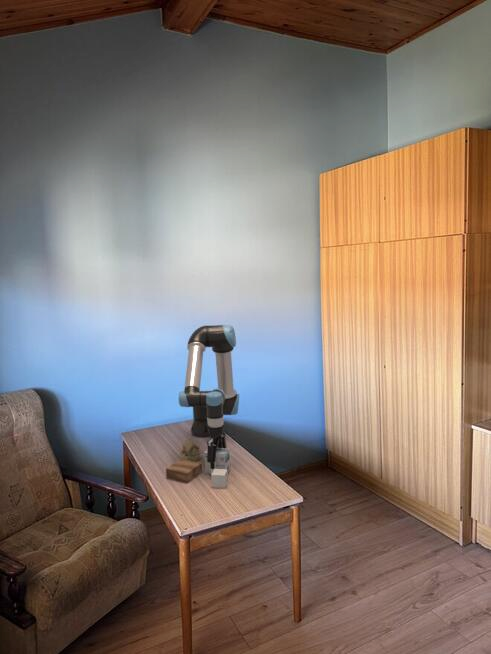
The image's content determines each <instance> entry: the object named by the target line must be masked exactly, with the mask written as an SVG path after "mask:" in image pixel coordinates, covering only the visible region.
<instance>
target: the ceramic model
mask: <svg viewBox="0 0 491 654" xmlns="http://www.w3.org/2000/svg"><path fill="white" fill-rule="evenodd" d="M181 447H182V450H181V451H180V458H181V459H185V460H190V461H195V462H198V461H199V460H201V459H202V454H201V452H202V450H201V449H200V447H201V446H200V445H199V444H198V443H196V442H195V441H194V440H193V437H191V436H190V437H186V439H185V440H184V441H183V443H182V444H181Z"/></svg>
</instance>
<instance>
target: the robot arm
mask: <svg viewBox="0 0 491 654" xmlns="http://www.w3.org/2000/svg"><path fill="white" fill-rule="evenodd" d="M236 346H237V340H236V333H235V327H233V326H232V325H230V324H228V325H226V324H218V325H203V326H199V327H198V328H196V329H195V330H194V331H193V333H192V334H191V336H189V339H188V342H187V347H186V349H187V351H188V355H187V365H186V371H185V380H184V390H183V391H179V394H178V405H179V406H180V407H182V408H192V414H193V420H192V421H193V422H192V426H191V429H190V434H191V435H192V436H194V437H196V438H208V437H210V438H209V440H208V441H207V442H206V445H207V449H208V451H207V462H210V466H211V474H212V473H213V471H214V469H216V462H215V458H216V450H217V448H227V443H226V432H225V426H224V416H233V415H235V416H236V415H237V414H238V412H239V405H240V394H238V393H237V390H236V389H235V388H234V376H233V362H232V361H233V359H232V352H233V350H234V348H235V347H236ZM206 348H211V349H212V352H213V353H215V354H214V355H215V365H216V377H217V380H216V381H217V388H215V389H213V390H201V381H202V370H203V362H204V361H203V360H204V358H203V357H204V352H206V350H207V349H206ZM211 474H210V475H211Z"/></svg>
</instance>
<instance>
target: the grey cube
mask: <svg viewBox="0 0 491 654" xmlns="http://www.w3.org/2000/svg"><path fill="white" fill-rule="evenodd" d="M228 473H229V472H227V469H214V471H213V473H212V474H210V475H211V476H210V479H211V488H216V489H217V488H218V489H226V487H227V485H228V483H229V477H228V476H229V475H228Z"/></svg>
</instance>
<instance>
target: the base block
mask: <svg viewBox="0 0 491 654" xmlns="http://www.w3.org/2000/svg"><path fill="white" fill-rule="evenodd" d="M202 473H203V463H202V462H199V461H190V460H185V459H183V458H179V460H177V461H174V463H172V464H171V465H169V466H167V467H166V468H165V476H166V479H169V480H173V481H177V482H180V483H186V484H189V483H190V482H191V481H193V480H194V479H195V478H197V477H198V476H200V475H201V474H202Z"/></svg>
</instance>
